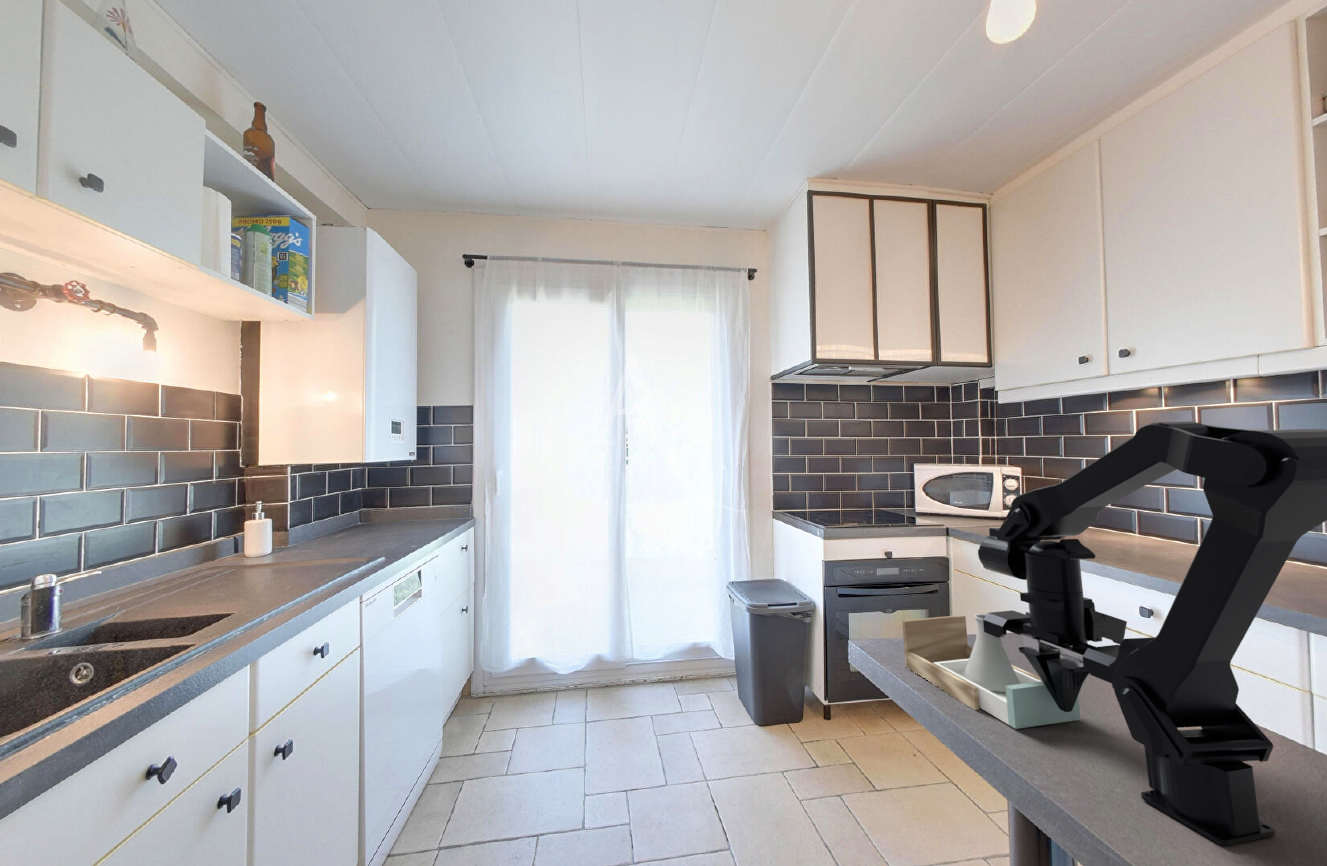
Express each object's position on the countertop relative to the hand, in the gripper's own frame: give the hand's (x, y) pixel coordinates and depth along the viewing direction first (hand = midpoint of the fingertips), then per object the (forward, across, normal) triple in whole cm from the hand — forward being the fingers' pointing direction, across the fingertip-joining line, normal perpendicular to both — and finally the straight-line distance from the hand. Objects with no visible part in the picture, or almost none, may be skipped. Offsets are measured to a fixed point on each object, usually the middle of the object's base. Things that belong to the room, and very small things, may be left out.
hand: (1065, 710), depth 61 cm
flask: (+2, +11, 0) cm, 11 cm away
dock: (+3, +14, +1) cm, 14 cm away
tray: (+3, +9, +1) cm, 10 cm away
